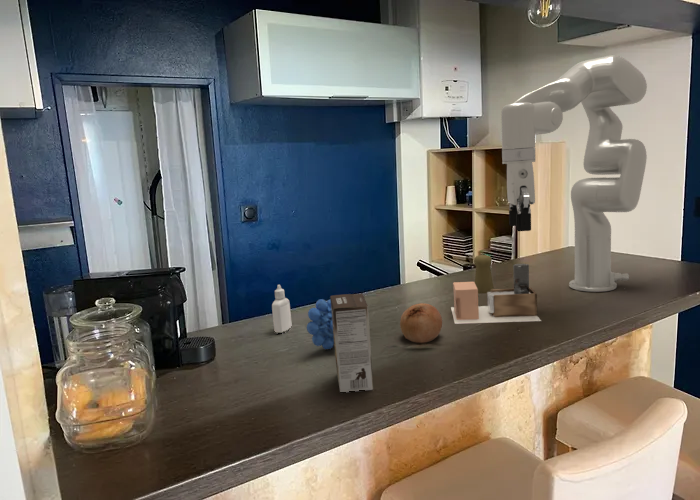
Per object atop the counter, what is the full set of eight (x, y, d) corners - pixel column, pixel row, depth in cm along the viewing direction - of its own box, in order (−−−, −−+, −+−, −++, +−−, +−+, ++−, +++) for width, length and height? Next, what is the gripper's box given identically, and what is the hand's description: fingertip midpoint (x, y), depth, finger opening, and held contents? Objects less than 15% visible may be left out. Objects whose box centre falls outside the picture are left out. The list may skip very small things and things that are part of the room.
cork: (492, 288, 158) (491, 253, 157) (495, 293, 153) (494, 256, 151) (472, 289, 159) (471, 254, 157) (475, 294, 153) (473, 257, 151)
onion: (420, 360, 114) (410, 328, 109) (397, 338, 122) (387, 307, 116) (454, 338, 117) (446, 305, 111) (429, 318, 124) (421, 286, 119)
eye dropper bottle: (297, 329, 133) (292, 283, 131) (278, 335, 129) (273, 288, 127) (288, 326, 136) (284, 281, 134) (269, 331, 133) (264, 286, 131)
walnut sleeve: (531, 308, 132) (531, 287, 131) (537, 315, 126) (536, 293, 125) (491, 310, 133) (490, 289, 132) (494, 317, 127) (494, 295, 127)
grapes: (324, 361, 110) (319, 307, 108) (302, 355, 114) (297, 303, 112) (360, 345, 118) (356, 293, 116) (338, 339, 123) (334, 290, 121)
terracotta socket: (475, 309, 135) (474, 281, 134) (478, 319, 127) (477, 289, 126) (454, 310, 136) (453, 282, 134) (456, 319, 128) (455, 290, 126)
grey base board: (528, 308, 136) (528, 304, 136) (541, 324, 122) (541, 320, 122) (451, 310, 139) (450, 307, 139) (455, 327, 125) (454, 323, 125)
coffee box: (336, 374, 103) (329, 295, 100) (368, 370, 103) (362, 292, 101) (339, 394, 94) (332, 307, 91) (374, 390, 94) (368, 304, 92)
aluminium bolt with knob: (528, 306, 131) (527, 263, 129) (532, 311, 127) (531, 266, 125) (487, 307, 132) (486, 265, 131) (490, 312, 128) (488, 268, 126)
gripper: (543, 155, 114) (544, 232, 117) (527, 156, 131) (528, 223, 134) (508, 157, 115) (510, 233, 118) (496, 158, 132) (498, 224, 135)
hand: (519, 228), depth 126 cm, fingers open, 9 cm apart
